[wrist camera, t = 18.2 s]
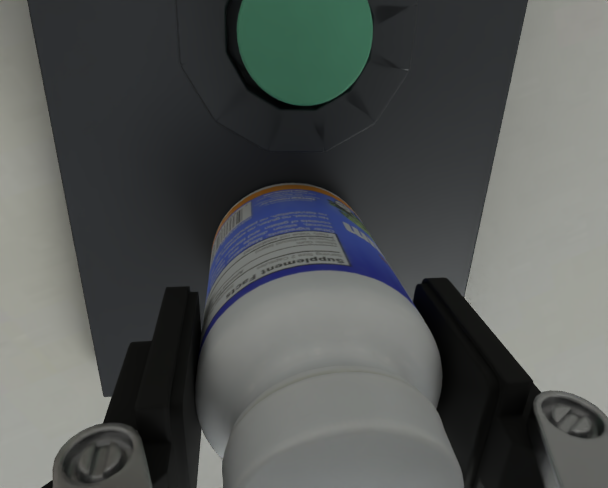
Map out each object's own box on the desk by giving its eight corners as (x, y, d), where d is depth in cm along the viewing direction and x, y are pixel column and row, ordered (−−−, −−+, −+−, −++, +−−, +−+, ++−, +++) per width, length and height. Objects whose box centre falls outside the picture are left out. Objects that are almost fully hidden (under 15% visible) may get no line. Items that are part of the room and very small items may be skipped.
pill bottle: (378, 289, 17) (526, 557, 9) (242, 335, 17) (252, 649, 9) (342, 154, 15) (496, 338, 6) (184, 208, 15) (114, 466, 6)
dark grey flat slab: (27, -105, 12) (-32, -142, 9) (518, -69, 14) (584, -90, 11) (111, 373, 19) (91, 430, 16) (435, 354, 21) (464, 402, 18)
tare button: (234, -41, 11) (234, -51, 10) (363, -34, 12) (380, -42, 10) (238, 96, 13) (238, 105, 11) (353, 99, 13) (366, 107, 12)
